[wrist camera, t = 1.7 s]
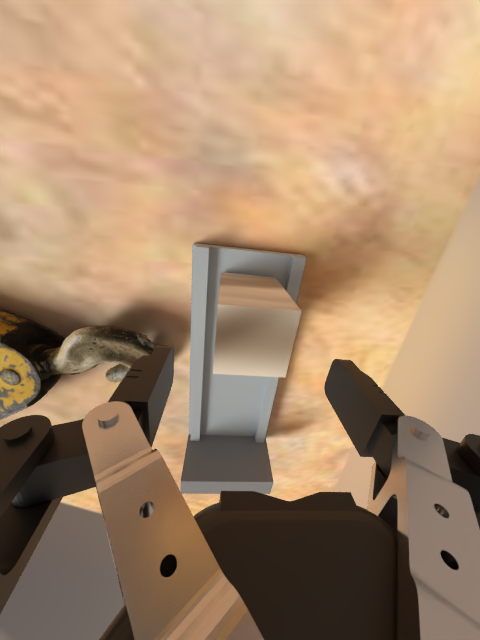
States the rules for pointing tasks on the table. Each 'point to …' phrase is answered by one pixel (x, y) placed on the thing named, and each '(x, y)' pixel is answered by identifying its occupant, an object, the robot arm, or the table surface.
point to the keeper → (254, 326)
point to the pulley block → (58, 357)
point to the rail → (229, 380)
